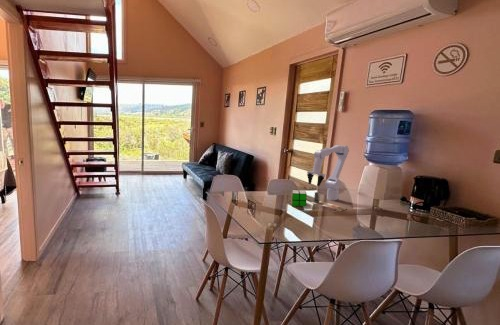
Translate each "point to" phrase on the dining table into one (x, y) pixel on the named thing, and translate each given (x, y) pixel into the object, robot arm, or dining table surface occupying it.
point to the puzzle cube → (298, 198)
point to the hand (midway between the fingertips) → (313, 184)
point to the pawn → (316, 198)
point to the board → (331, 206)
